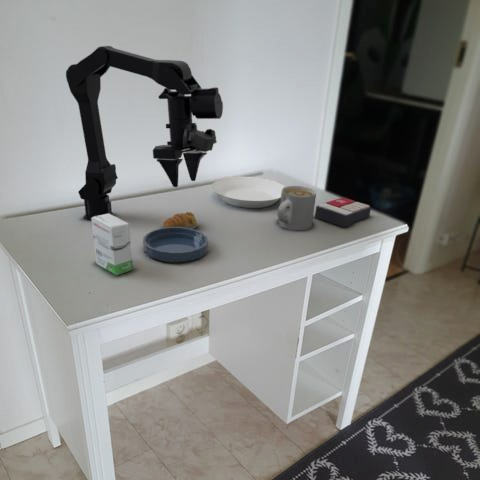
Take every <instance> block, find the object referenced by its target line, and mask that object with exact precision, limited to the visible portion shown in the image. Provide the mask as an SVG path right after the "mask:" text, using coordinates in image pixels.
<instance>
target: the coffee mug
mask: <svg viewBox="0 0 480 480" xmlns="http://www.w3.org/2000/svg"><path fill="white" fill-rule="evenodd" d="M316 199H317V191H316V190H315V189H313V188H312V187H308V186H303V185H287V186H285V187H284V188H283V189H282V192H281V198H280V203H279V207H278V210H277V218H278V222H277V223H278V225H279V226H280V227H281V228H283V229H286V230H291V231H306V230H310V229H311V228H312V227H313V226H312V225H313V219H314V214H315V207H316Z"/></svg>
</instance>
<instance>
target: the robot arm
mask: <svg viewBox="0 0 480 480" xmlns="http://www.w3.org/2000/svg"><path fill="white" fill-rule="evenodd" d="M110 68H114V69H119V70H121V71H125V72H127V73H128V72H129V73H132V74H135V75H139V76H142V77H145V78H149V79H151V80H152V81H153V82H154V83H156V84H157V85H160V86H161V87H164V89H163V91H162V92H160V94H159V95H158V99H159V100H167V101H166V102H167V114H168V123H165V129H169V140H168V141H166V144H160V145H155V146H154V148H153V149H152V159H156V162H157V163H159V164H160V166H161V167H162V169H163V171H164V173H165V175H166V176H167V178H168V180H169V182H170V183H171V185H172V187H173V188H178V187H179V166H180V165H181V163H182V162H183V161H184V162H185V166H186V170H187V172H188V176H189V179H190V181H192V182H195V181H196V179H197V175H198V172H199V167H200V163H201V161H202V159H203V158H204V157H205V156H206V155H208V152H209V151H213V148H214V144H217V143H218V142H217V136H216V131H215V130H214V129H212V128H208V129H206V130H205V131H203V130H199V129H198V125H197V123H196V122H193V117H195V118H196V119H197V120H219V119H221V118H222V116H223V111H224V103H223V100H222V96H221V94H220V93H219V92H220V91H219V87H217V86H215V87H214V86H213V87H211V88H210V87H209V88H202V87H201V85H200V83H198V81H197V79H196V78H195V77H194V76H193V74H192V70H191V67H190V66H189V64H188V63H187V62H186V61H183V60H174V59H155V58H150V57H147V56H144V55H140V54H136V53H132V52H130V51H126V50H121V49H120V48H119V49H118V48H114V47H113V46H112V45H102V46H98V47H96V49H94V50H93V51H92V52H91V53H90V54H89V55H87V56H86V57H84V58H83V59H81V60H80V61H78V62H77V63H74V64H73V63H72V64H70V65H69V66H68V68H67V69H66V71H65V78H66V82H67V86H68V88H69V92H70V93H71V95H72V96H73V98H74V99H75V101H76V102H77V105H78V111H79V116H80V122H81V129H82V134H83V139H84V145H85V148H86V149H85V150H86V156H87V164H86V168H85V172H84V173H85V174H84V176H85V183H84V185H82V187H81V188H80V190H78V191H77V192H78V195H79V197H80V199H81V200H83V202H84V211H85V215H83V217H82V219H83V220H90V221H92V220H91V218H92V217H95V216H99V215H104V214H108V213H109V214H111V215H113V216H114V212H113V209H112V201H111V200H110V195H109V194H111V193H112V189H113V188H114V187H115V186H116V184H117V179H119V177H118V175H117V167H116V164H115V163H113V164H111V163H110V161H109V160H108V157H107V154H106V148H105V139H104V135H103V128H102V122H101V115H100V109H99V98H100V94H101V89H102V88H101V87H102V86H101V84H102V83H101V82H102V81H101V80H102V79H101V78H102V77H103V76H104V75H105V74H106V73H107V72H108V70H109V69H110ZM182 156H183V158H182Z"/></svg>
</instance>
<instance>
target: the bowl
mask: <svg viewBox="0 0 480 480" xmlns="http://www.w3.org/2000/svg"><path fill="white" fill-rule="evenodd" d="M284 187H286V186H285V184H282V183H280V182H278V181H275V180H272V179H269V178H263V177H257V176H228V177H223V178H220V179H217V180H215V181H214V182H212V184H211V189H212V191H213V192H215V193H216V194H217V195H218V196H219V197H220V199H222V200H223V202H225V203H226V204H228V205H231V206H235V207H237V208H238V207H239V208H248V209H261V208H266V207H267V208H268V207H270V206H273V205H274V204H275V203H277V202H278V201H279V200H281V192H282V189H283V188H284Z"/></svg>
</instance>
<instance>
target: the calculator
mask: <svg viewBox="0 0 480 480" xmlns="http://www.w3.org/2000/svg"><path fill="white" fill-rule="evenodd" d="M371 210H372V207H371V206H370V205H369V204H366V203H362V202H359V201H355V200H353V199H349V198H346V197H340V198H335V199H332V200H329V201H326V202H323V203H321V204H318V205H315V211H314V218H316V219H318V220H320V221H324V222H327V223H330V224H333V225H336V226H339V227H341V228H347V227H349V226H351V225H353V223H355V222H359V221H361V220H365V219H367V218H369V217H370V215H371Z"/></svg>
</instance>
